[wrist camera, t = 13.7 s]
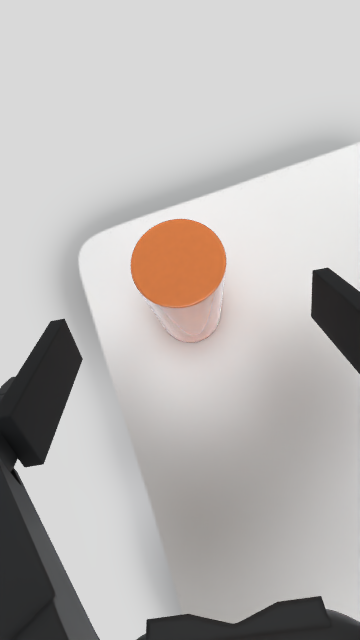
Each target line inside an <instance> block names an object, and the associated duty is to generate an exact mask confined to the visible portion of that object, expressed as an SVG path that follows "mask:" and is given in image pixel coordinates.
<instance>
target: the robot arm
mask: <svg viewBox="0 0 360 640" xmlns="http://www.w3.org/2000/svg"><path fill="white" fill-rule="evenodd" d="M311 317H312V318H313V319H314V321H315V322H316V323H317V324H318V325H319V327H320V328H321V329H322V330H323V331H324V332H325V334H326V335H327V336H328V337H329V338H330V340H331V341H332V342H333V343H334V344H335V345H336V347H337V348H338V349H339V350H340V351H341V353H342V354H343V355H344V356H345V357H346V358H347V360H348V361H349V362H350V363H351V364H352V366H353V367H354V368H355V369H356V370H357V371H358V373H359V374H360V292H359V291H358V290H357V289H355V288H354V287H353V286H351V285H350V284H349V283H347V282H346V281H345V280H344V279H342V278H341V277H340V276H338V275H337V274H336V273H334V272H333V271H332V270H330V269H329V268H324V269H318V270H313V279H312V308H311ZM81 362H82V357H81V355H80V352H79V350H78V348H77V346H76V343H75V341H74V339H73V337H72V334H71V332H70V330H69V328H68V326H67V323H66V321H65V319H60V320H56V321H51V322H50V323H49V325H48V326H47V328H46V330H45V332H44V333H43V335H42V336H41V338H40V339H39V341H38V342H37V344H36V346H35V347H34V349H33V350H32V352H31V353H30V355H29V357H28V358H27V360H26V361H25V363H24V365H23V366H22V368H21V369H20V371H19V373H18V374H17V376H16V377H11V378H10V379H9V380H8V381H7V382H6V383H5V384H3V385H2V386H1V388H0V640H100V639H99V638H98V636H97V634H96V632H95V630H94V628H93V626H92V624H91V622H90V620H89V618H88V616H87V614H86V612H85V610H84V608H83V606H82V604H81V602H80V600H79V598H78V596H77V594H76V591H75V589H74V587H73V585H72V583H71V581H70V579H69V577H68V575H67V573H66V571H65V569H64V567H63V565H62V563H61V561H60V559H59V557H58V555H57V553H56V551H55V548H54V546H53V545H52V542H51V540H50V538H49V537H48V535H47V532H46V530H45V528H44V526H43V524H42V522H41V520H40V518H39V516H38V514H37V512H36V510H35V508H34V505H33V504H32V502H31V499H30V498H29V495H28V493H27V491H26V489H25V487H24V485H23V483H22V481H21V479H20V477H19V475H18V473H17V471H16V470H15V469H14V465H15V463H16V461H17V459H19V460H20V461H21V463H22V464H23V466H24V467H30V466H36V465H42V464H44V461H45V459H46V456H47V453H48V451H49V448H50V445H51V443H52V440H53V437H54V435H55V432H56V429H57V426H58V424H59V421H60V418H61V416H62V413H63V410H64V408H65V405H66V402H67V400H68V397H69V394H70V392H71V389H72V386H73V384H74V381H75V378H76V375H77V373H78V370H79V367H80V364H81ZM137 640H360V622H358V621H356V620H354V619H352V618H350V617H349V616H347V615H344V614H341V613H339V612H336V611H333V610H328V609H325V606H324V603H323V600H322V597H321V596H318V597H311V598H303V599H296V600H288V601H281V602H276V603H274V604H273V605H271V606H269V607H267V608H265V609H263V610H261V611H259V612H257V613H256V614H254V615H252V616H250V617H248V618H246V619H244V620H242V621H241V622H238V623H235V624H231V623H226V622H222V621H217V620H213V619H208V618H204V617H200V616H195V615H191V614H184V615H177V616H170V617H162V618H155V619H148V620H147V627H146V634H144V635H142V636H141V637H139V638H138V639H137Z"/></svg>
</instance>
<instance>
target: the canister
mask: <svg viewBox="0 0 360 640" xmlns="http://www.w3.org/2000/svg"><path fill="white" fill-rule="evenodd" d="M225 271H226V254H225V250H224V247H223V245H222V243H221V241H220V239H219V238H218V236H217V235H216V234H215V233H214V232H213V231H212V230H211V229H209V228H208V227H206V226H205V225H203V224H201V223H199V222H196V221H192V220H187V219H174V220H169V221H165V222H162V223H160V224H158V225H156V226H154V227H152V228H151V229H149V230H148V231H147V232H146V233H145V234H144V235H143V236H142V237H141V238H140V240H139V241H138V243H137V244H136V246H135V248H134V251H133V254H132V258H131V274H132V278H133V281H134V283H135V285H136V287H137V289H138V290H139V291H140V293H141V294H142V296H143V297H144V299H145V300H146V302H147V303H148V304H149V306H150V307H151V309H152V310H153V312H154V313H155V315H156V316H157V318H158V319H159V320H160V322H161V323H162V325H163V326H164V328H165V329H166V330H167V332H168V333H169V334H170V335H171V336H172V337H174V338H175V339H177V340H179V341H183V342H189V343H192V342H198V341H201V340H204V339H205V338H207V337H209V336H210V335H211V334H212V333H213V332H214V331H215V329H216V328H217V326H218V323H219V320H220V314H221V305H222V297H223V288H224V279H225Z"/></svg>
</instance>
